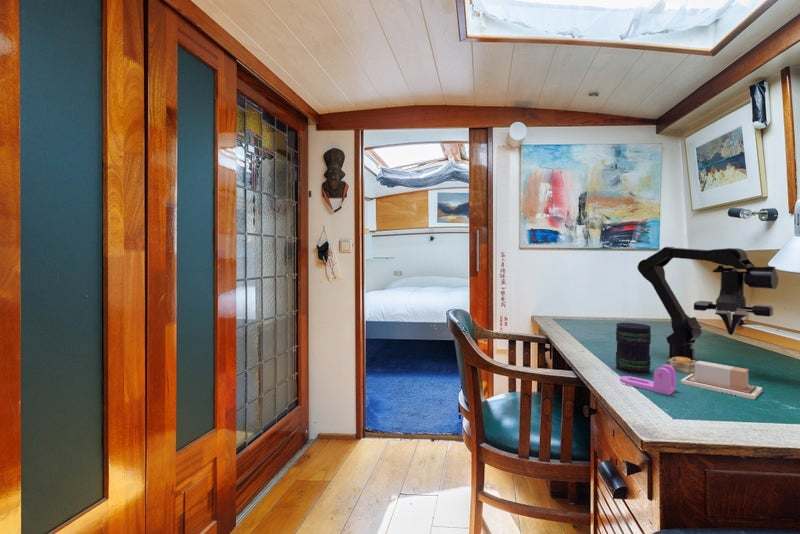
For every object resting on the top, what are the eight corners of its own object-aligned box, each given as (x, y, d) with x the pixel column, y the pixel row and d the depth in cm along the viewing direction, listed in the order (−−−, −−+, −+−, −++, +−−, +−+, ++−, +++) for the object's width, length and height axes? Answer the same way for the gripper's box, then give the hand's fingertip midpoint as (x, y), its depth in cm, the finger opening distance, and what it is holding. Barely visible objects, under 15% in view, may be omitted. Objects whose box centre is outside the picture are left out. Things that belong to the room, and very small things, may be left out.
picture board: (680, 383, 111) (680, 379, 110) (691, 376, 117) (691, 372, 117) (754, 399, 98) (754, 395, 98) (762, 391, 104) (762, 386, 104)
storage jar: (644, 377, 116) (645, 329, 116) (610, 370, 124) (611, 325, 123) (654, 370, 123) (655, 325, 123) (621, 364, 130) (622, 321, 130)
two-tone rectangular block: (694, 380, 110) (694, 363, 110) (699, 377, 113) (699, 360, 113) (744, 390, 101) (744, 372, 101) (748, 387, 104) (748, 369, 104)
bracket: (675, 390, 105) (675, 366, 105) (669, 395, 101) (669, 370, 101) (624, 379, 115) (624, 356, 115) (617, 383, 111) (617, 360, 111)
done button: (673, 366, 124) (673, 358, 124) (677, 364, 127) (677, 356, 126) (688, 369, 121) (688, 360, 121) (692, 367, 123) (692, 358, 123)
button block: (666, 369, 124) (666, 360, 124) (673, 365, 129) (673, 356, 129) (692, 374, 119) (692, 365, 119) (699, 370, 123) (699, 361, 123)
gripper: (688, 286, 124) (688, 333, 124) (767, 290, 109) (765, 343, 110) (699, 284, 131) (698, 329, 131) (774, 288, 116) (772, 338, 116)
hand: (731, 334), depth 122 cm, fingers closed
